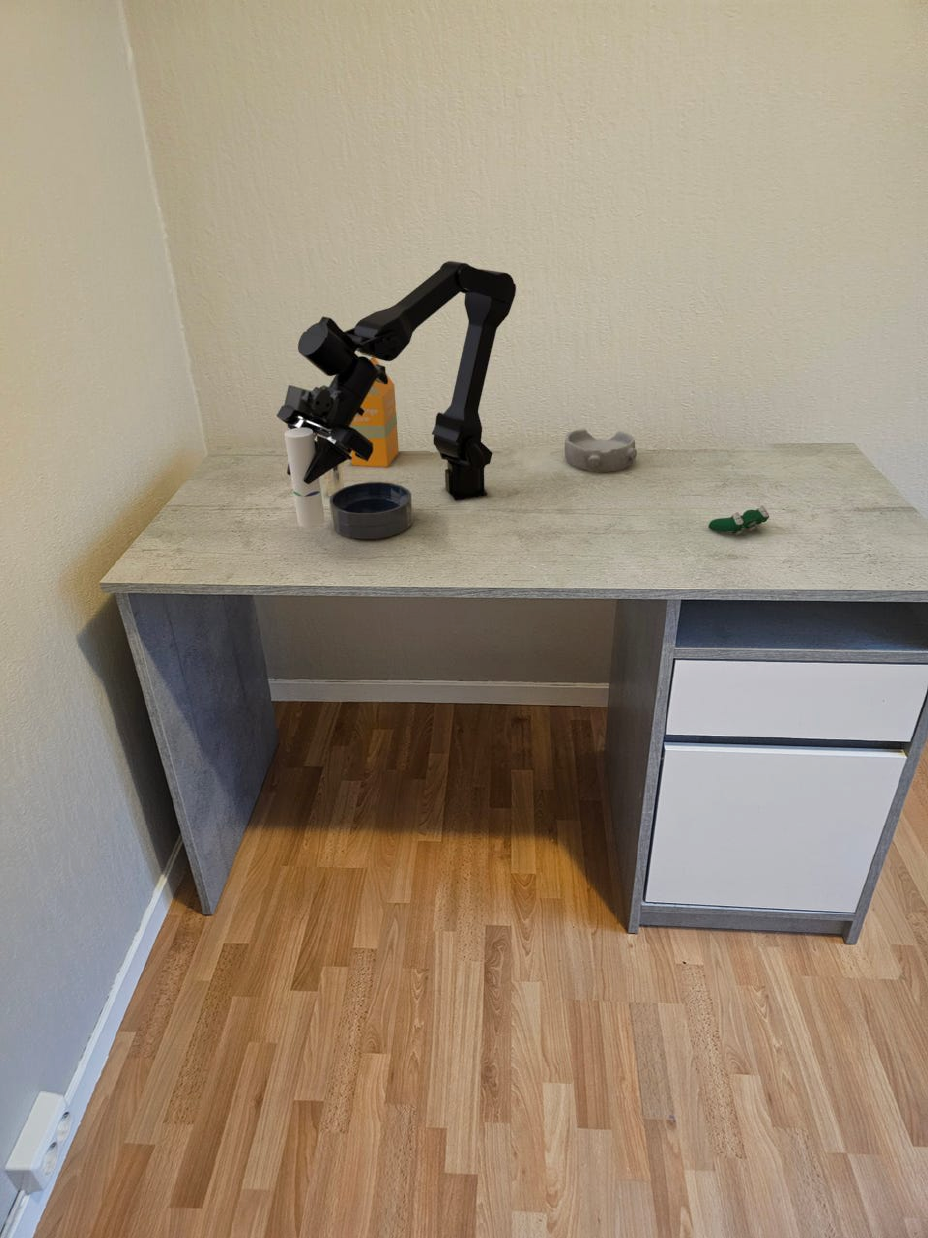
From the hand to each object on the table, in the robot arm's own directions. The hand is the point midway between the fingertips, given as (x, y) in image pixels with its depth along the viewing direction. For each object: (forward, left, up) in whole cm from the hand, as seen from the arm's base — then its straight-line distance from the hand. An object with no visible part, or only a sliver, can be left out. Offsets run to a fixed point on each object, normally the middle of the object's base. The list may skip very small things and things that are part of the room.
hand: (297, 478), depth 130 cm
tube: (-1, -1, -8) cm, 8 cm away
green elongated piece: (-70, +17, -13) cm, 74 cm away
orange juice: (-20, -39, -13) cm, 46 cm away
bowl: (-13, -8, -13) cm, 20 cm away
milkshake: (-9, -23, -13) cm, 28 cm away
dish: (-62, -20, -13) cm, 67 cm away
